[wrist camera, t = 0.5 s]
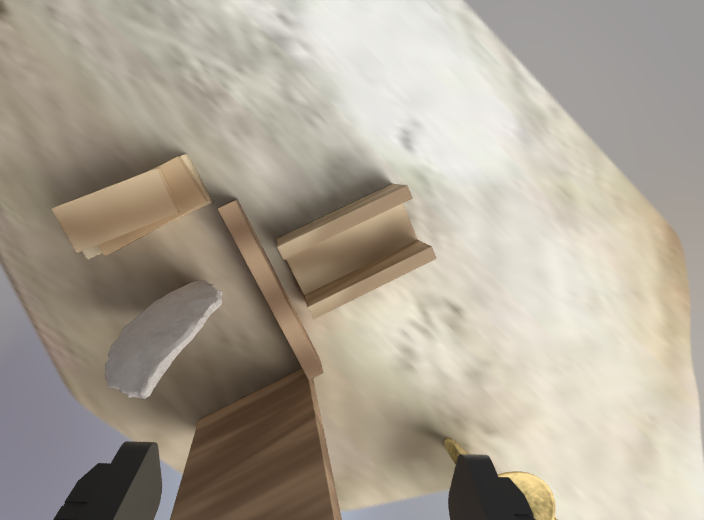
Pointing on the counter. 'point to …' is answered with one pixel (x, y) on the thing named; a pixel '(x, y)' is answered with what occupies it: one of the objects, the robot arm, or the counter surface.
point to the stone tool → (159, 338)
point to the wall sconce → (520, 486)
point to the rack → (262, 428)
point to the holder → (354, 249)
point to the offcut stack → (132, 207)
